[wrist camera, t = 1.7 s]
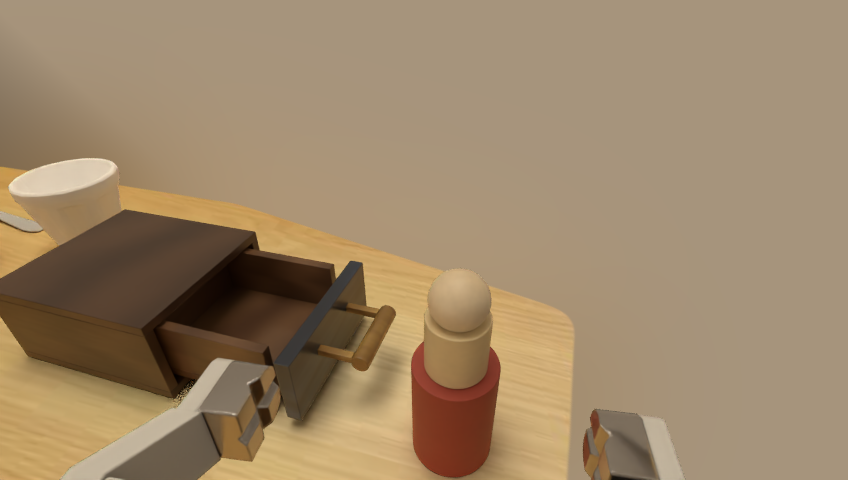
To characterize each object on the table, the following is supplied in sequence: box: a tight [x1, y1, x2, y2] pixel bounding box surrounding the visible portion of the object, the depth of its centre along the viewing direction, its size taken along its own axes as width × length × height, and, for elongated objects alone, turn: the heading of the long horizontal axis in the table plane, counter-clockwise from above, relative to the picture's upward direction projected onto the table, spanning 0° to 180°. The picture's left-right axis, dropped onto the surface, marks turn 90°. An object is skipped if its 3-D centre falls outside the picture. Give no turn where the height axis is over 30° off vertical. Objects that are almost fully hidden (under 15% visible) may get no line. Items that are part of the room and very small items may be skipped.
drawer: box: [153, 248, 396, 420], centre depth 37 cm, size 19×12×6 cm, turn 73°
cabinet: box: [0, 210, 260, 398], centre depth 40 cm, size 16×14×8 cm
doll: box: [411, 268, 500, 477], centre depth 28 cm, size 6×6×15 cm
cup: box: [8, 158, 122, 246], centre depth 51 cm, size 10×10×9 cm
